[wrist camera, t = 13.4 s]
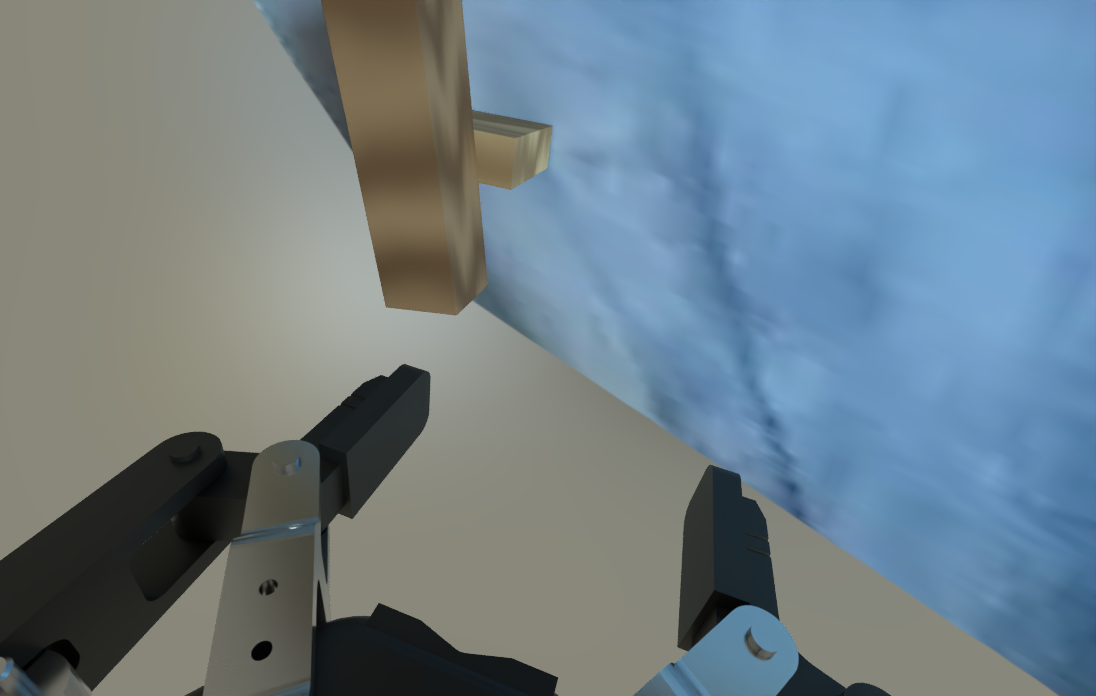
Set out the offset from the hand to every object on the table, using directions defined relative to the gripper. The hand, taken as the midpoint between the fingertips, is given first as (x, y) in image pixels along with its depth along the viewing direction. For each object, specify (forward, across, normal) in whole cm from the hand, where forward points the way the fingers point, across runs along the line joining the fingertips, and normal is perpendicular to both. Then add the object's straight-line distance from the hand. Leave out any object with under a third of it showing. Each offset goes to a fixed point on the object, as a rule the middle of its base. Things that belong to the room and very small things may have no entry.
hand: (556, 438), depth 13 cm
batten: (+19, +14, -2) cm, 23 cm away
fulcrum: (+27, +14, -2) cm, 30 cm away
